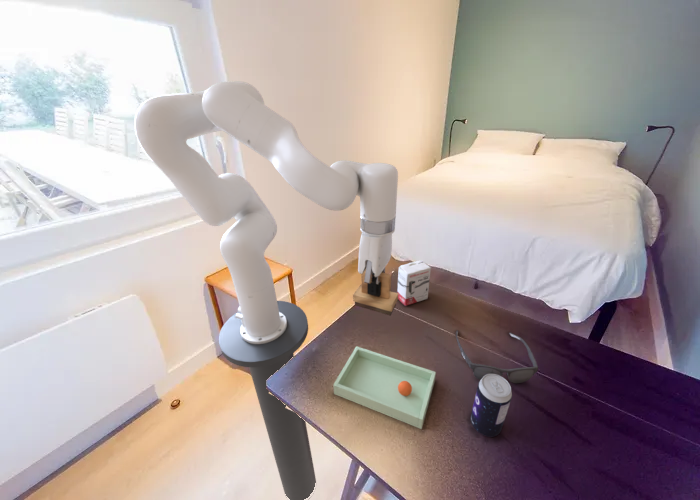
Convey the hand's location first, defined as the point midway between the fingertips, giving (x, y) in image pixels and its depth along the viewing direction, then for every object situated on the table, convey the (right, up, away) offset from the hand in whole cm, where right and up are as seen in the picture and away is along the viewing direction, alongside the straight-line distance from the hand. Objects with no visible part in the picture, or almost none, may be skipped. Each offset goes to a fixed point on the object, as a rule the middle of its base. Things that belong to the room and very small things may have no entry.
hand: (375, 291), depth 76 cm
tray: (+2, -21, -6) cm, 22 cm away
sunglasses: (+29, -16, +1) cm, 33 cm away
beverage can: (+21, -25, -14) cm, 35 cm away
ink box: (+13, -5, +22) cm, 26 cm away
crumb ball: (+6, -20, -8) cm, 22 cm away
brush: (0, -4, +2) cm, 4 cm away
